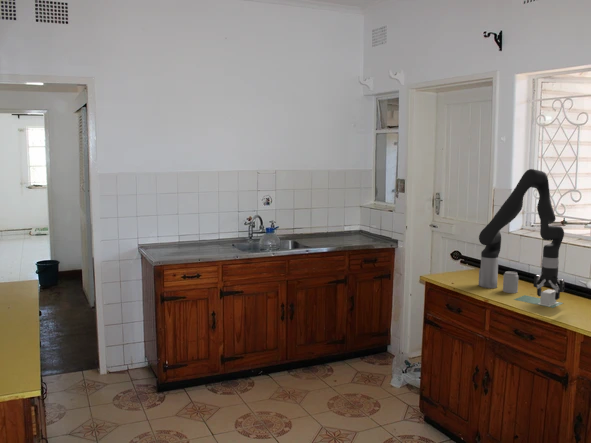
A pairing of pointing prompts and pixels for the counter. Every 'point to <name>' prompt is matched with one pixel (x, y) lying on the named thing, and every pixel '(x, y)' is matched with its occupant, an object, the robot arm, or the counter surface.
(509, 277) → the can
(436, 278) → the counter surface
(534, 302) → the board
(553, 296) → the block
